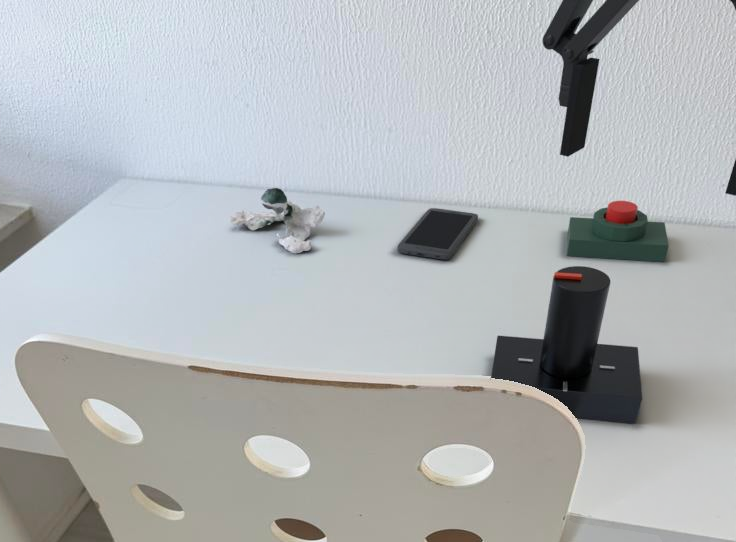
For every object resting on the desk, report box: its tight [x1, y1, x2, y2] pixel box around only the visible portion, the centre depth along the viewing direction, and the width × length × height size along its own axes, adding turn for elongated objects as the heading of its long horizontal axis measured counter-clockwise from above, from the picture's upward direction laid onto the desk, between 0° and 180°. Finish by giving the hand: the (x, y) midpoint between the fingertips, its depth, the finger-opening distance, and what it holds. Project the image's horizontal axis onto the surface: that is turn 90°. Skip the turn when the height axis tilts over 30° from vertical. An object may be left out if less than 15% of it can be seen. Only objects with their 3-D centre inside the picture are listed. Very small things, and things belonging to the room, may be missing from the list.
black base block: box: [490, 335, 643, 425], centre depth 76 cm, size 14×9×3 cm, turn 78°
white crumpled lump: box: [228, 187, 326, 255], centre depth 105 cm, size 15×8×8 cm
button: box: [606, 200, 639, 224], centre depth 97 cm, size 4×4×2 cm
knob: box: [540, 265, 612, 378], centre depth 72 cm, size 5×5×9 cm
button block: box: [566, 206, 669, 263], centre depth 99 cm, size 12×7×4 cm, turn 78°
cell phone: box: [397, 207, 479, 261], centre depth 104 cm, size 7×14×1 cm, turn 157°
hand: (650, 169), depth 60 cm, fingers open, 13 cm apart
